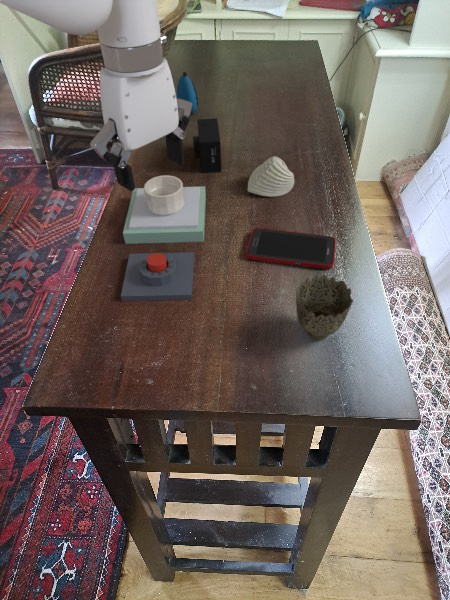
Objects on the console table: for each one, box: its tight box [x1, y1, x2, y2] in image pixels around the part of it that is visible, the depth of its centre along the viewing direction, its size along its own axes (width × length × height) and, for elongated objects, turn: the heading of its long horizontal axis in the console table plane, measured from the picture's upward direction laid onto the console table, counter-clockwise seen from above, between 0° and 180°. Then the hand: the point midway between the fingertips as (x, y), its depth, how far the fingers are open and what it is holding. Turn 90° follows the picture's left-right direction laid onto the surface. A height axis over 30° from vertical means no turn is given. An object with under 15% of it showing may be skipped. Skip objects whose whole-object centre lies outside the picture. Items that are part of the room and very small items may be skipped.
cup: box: [295, 274, 354, 341], centre depth 63 cm, size 8×7×8 cm
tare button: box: [147, 252, 167, 273], centre depth 72 cm, size 3×3×2 cm
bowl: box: [143, 174, 185, 215], centre depth 82 cm, size 7×7×4 cm
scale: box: [122, 185, 207, 245], centre depth 85 cm, size 14×14×3 cm
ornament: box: [176, 71, 199, 116], centre depth 112 cm, size 8×5×10 cm, turn 22°
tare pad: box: [120, 251, 196, 302], centre depth 74 cm, size 11×10×3 cm
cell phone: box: [245, 227, 337, 270], centre depth 78 cm, size 8×15×1 cm, turn 78°
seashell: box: [247, 156, 295, 198], centre depth 90 cm, size 8×8×8 cm
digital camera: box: [192, 117, 222, 174], centre depth 98 cm, size 10×5×7 cm, turn 4°
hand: (152, 174), depth 70 cm, fingers open, 9 cm apart
